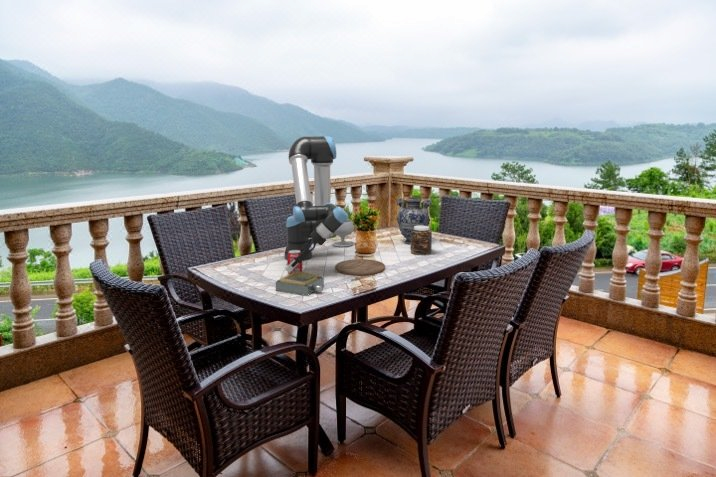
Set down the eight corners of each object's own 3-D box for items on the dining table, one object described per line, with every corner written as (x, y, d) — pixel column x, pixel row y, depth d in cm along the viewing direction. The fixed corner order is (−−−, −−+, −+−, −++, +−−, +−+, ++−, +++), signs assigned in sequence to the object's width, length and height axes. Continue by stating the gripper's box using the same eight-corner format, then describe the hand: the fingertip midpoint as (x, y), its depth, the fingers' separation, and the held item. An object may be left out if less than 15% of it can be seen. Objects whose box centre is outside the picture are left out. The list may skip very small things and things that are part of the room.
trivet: (393, 266, 243) (393, 263, 242) (369, 279, 222) (369, 275, 221) (351, 260, 255) (351, 256, 255) (325, 271, 234) (325, 268, 234)
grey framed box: (275, 290, 205) (275, 279, 204) (293, 281, 218) (293, 270, 217) (316, 296, 197) (315, 285, 196) (331, 287, 210) (331, 275, 208)
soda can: (295, 272, 231) (294, 248, 229) (305, 275, 227) (305, 251, 224) (284, 276, 226) (283, 251, 224) (295, 278, 222) (294, 254, 219)
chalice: (332, 242, 295) (331, 218, 292) (354, 242, 295) (354, 218, 292) (330, 247, 282) (329, 222, 278) (353, 247, 281) (353, 222, 278)
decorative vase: (392, 244, 287) (393, 198, 282) (398, 238, 305) (400, 195, 299) (427, 247, 281) (429, 200, 276) (432, 241, 299) (434, 196, 293)
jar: (430, 250, 274) (431, 224, 271) (431, 255, 263) (432, 229, 259) (410, 250, 275) (410, 224, 272) (410, 255, 264) (411, 228, 261)
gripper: (327, 244, 214) (292, 280, 217) (326, 235, 234) (294, 267, 236) (315, 233, 213) (280, 269, 215) (315, 224, 232) (283, 257, 234)
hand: (287, 268), depth 225 cm, fingers closed on soda can, 7 cm apart
